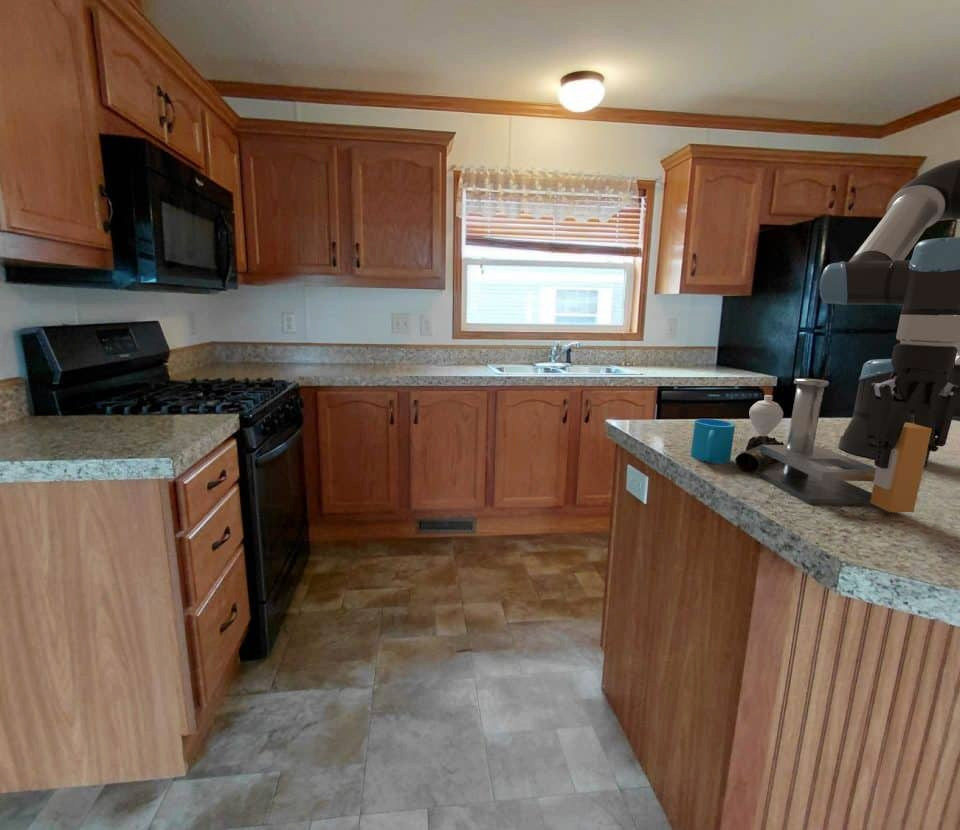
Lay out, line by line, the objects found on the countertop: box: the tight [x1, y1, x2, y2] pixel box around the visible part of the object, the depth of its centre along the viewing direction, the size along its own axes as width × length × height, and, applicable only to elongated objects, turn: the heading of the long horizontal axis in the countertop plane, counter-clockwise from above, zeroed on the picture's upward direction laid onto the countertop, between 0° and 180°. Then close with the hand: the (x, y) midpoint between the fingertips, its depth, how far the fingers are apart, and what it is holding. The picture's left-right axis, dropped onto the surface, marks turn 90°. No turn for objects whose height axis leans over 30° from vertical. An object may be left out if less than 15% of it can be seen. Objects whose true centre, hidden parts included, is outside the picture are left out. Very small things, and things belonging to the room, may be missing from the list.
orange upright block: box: [870, 423, 932, 513], centre depth 83 cm, size 4×4×14 cm
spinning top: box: [748, 394, 784, 436], centre depth 131 cm, size 8×8×12 cm
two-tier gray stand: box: [754, 377, 876, 506], centre depth 94 cm, size 14×18×20 cm
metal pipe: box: [734, 435, 785, 475], centre depth 110 cm, size 18×7×6 cm, turn 132°
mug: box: [690, 418, 736, 464], centre depth 112 cm, size 12×8×8 cm
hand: (895, 486), depth 83 cm, fingers closed on orange upright block, 4 cm apart
